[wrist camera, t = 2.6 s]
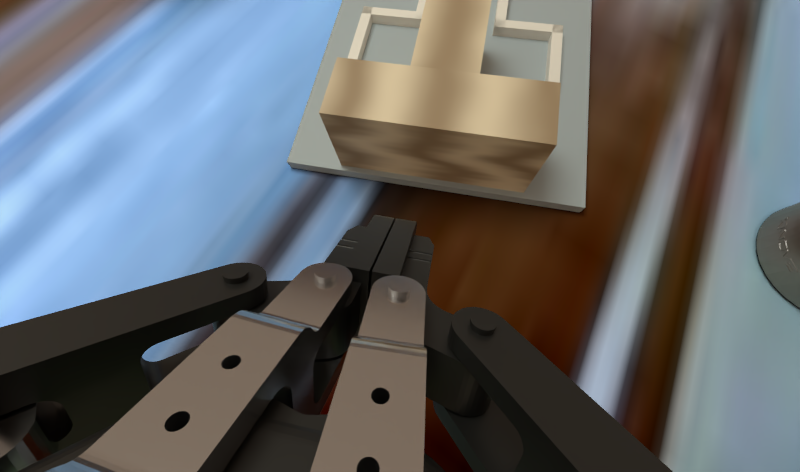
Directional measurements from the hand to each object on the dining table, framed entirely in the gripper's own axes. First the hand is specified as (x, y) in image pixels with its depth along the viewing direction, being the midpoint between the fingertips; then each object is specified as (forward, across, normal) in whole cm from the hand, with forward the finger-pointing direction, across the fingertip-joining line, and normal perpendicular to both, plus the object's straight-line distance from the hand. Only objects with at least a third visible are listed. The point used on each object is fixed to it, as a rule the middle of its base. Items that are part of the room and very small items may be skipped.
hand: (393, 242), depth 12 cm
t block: (+23, 0, -2) cm, 23 cm away
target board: (+29, 0, -8) cm, 30 cm away
